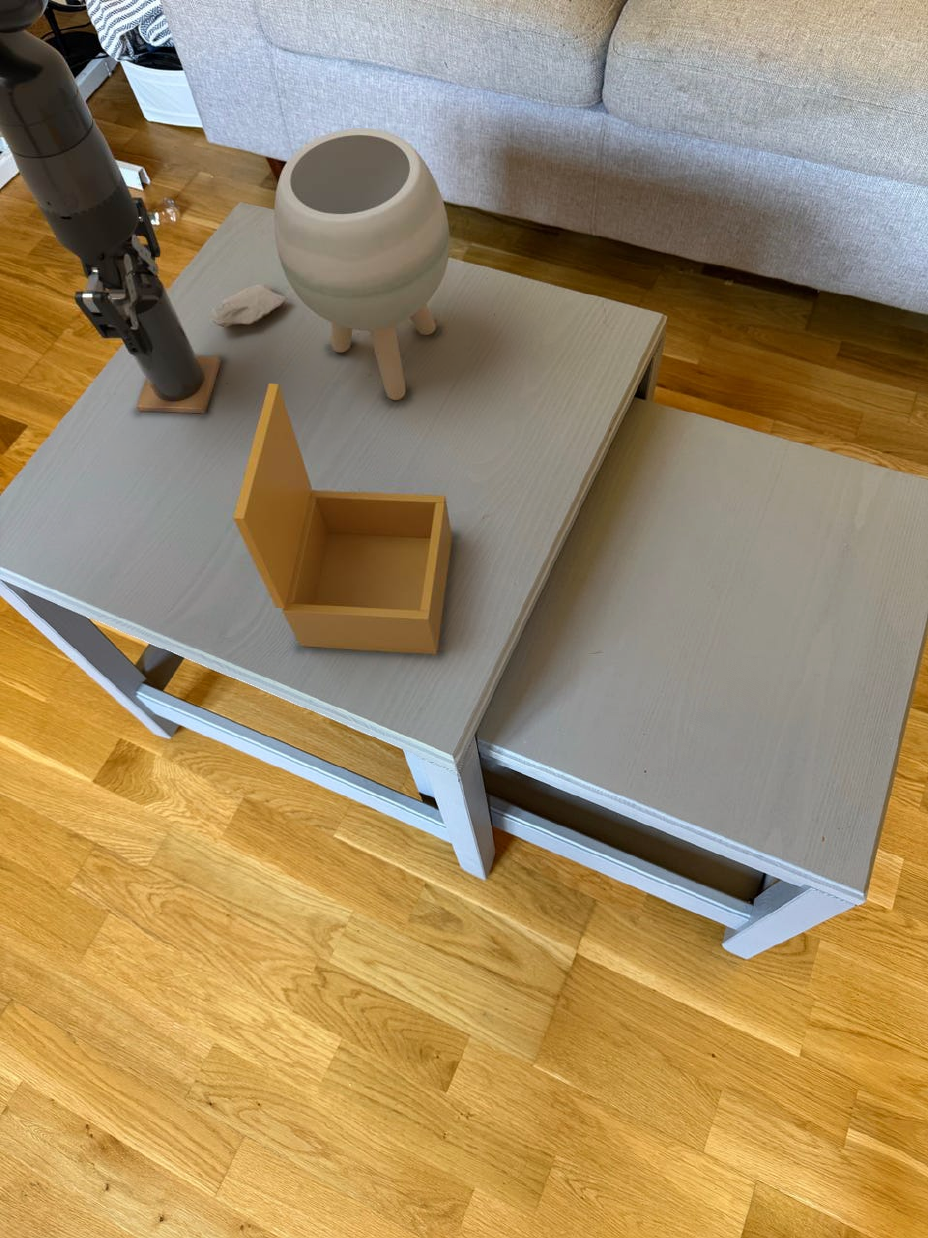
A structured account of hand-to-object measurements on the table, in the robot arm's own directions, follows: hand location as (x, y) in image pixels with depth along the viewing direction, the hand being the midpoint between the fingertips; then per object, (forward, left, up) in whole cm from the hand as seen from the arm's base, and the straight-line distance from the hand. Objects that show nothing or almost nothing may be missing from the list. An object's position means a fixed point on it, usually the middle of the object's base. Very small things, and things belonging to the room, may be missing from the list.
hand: (151, 328), depth 91 cm
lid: (+20, -24, +6) cm, 32 cm away
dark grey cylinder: (0, 0, -8) cm, 8 cm away
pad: (0, 0, -8) cm, 8 cm away
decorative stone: (+6, +11, -9) cm, 15 cm away
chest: (+26, -24, -8) cm, 36 cm away
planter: (+23, +5, -9) cm, 25 cm away
